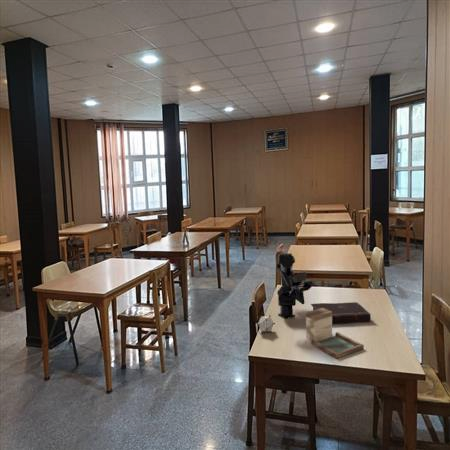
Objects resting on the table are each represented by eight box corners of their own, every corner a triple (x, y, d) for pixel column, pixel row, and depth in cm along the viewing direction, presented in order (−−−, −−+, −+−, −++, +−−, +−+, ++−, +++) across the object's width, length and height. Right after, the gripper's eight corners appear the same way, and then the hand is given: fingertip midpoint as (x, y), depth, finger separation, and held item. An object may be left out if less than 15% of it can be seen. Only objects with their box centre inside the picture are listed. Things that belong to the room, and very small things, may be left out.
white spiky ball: (268, 337, 179) (277, 318, 181) (270, 338, 171) (280, 319, 173) (251, 328, 180) (261, 309, 182) (253, 329, 171) (263, 309, 173)
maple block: (306, 337, 169) (306, 312, 167) (322, 332, 174) (322, 307, 172) (315, 342, 164) (315, 316, 162) (332, 336, 168) (332, 311, 167)
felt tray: (311, 344, 162) (311, 340, 162) (337, 335, 169) (337, 332, 169) (336, 358, 149) (336, 354, 149) (363, 349, 156) (363, 345, 156)
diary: (370, 323, 182) (371, 313, 182) (321, 326, 181) (321, 316, 180) (355, 309, 201) (355, 300, 200) (310, 312, 200) (310, 303, 199)
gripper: (280, 270, 174) (295, 299, 166) (311, 264, 183) (326, 291, 175) (271, 282, 182) (285, 310, 174) (300, 276, 191) (315, 303, 183)
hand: (303, 303), depth 176 cm, fingers closed
